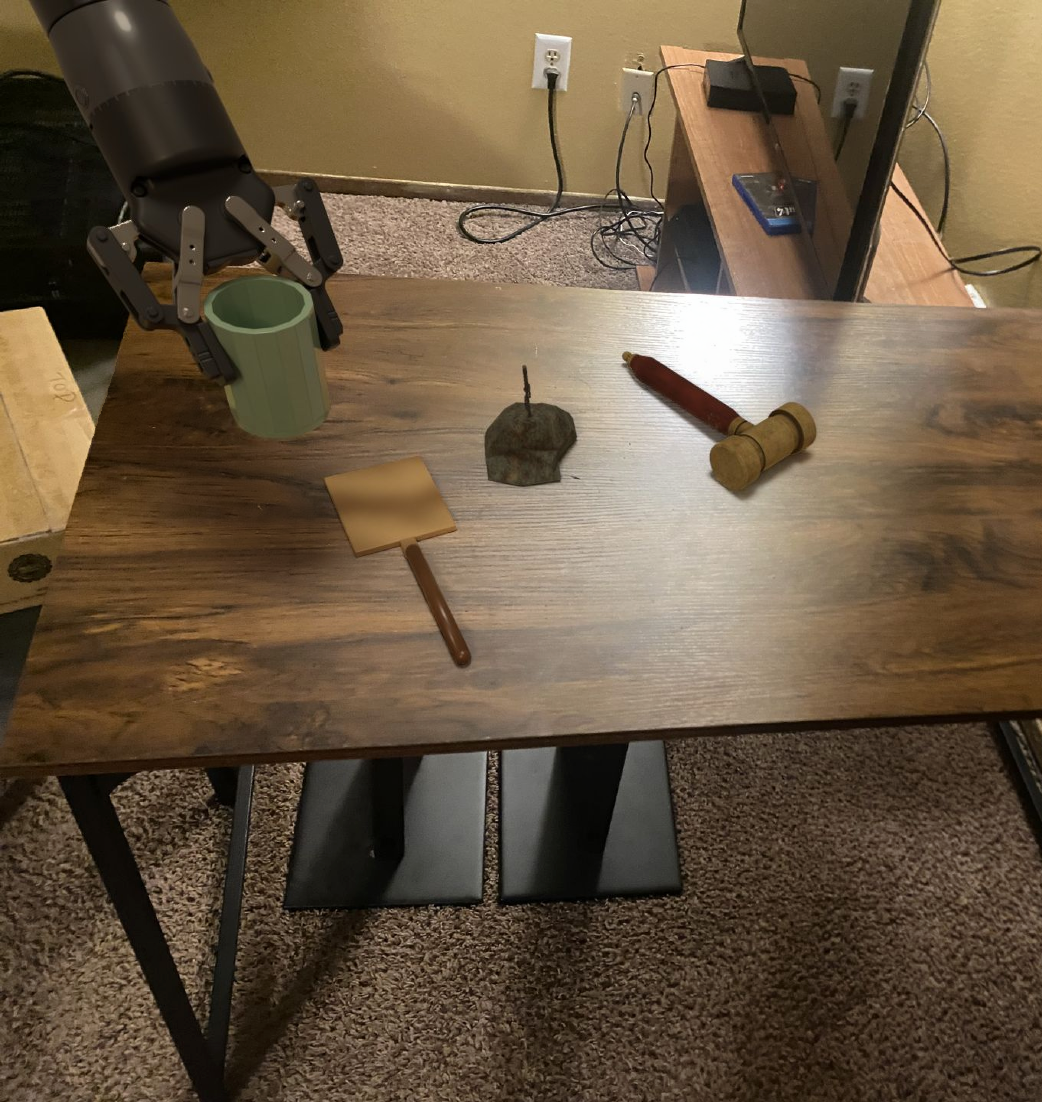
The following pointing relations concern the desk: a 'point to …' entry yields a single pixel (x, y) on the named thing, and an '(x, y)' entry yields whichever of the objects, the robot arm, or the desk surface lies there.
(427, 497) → the spatula
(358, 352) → the desk surface
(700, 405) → the gavel
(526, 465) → the sword in stone
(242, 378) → the pot
